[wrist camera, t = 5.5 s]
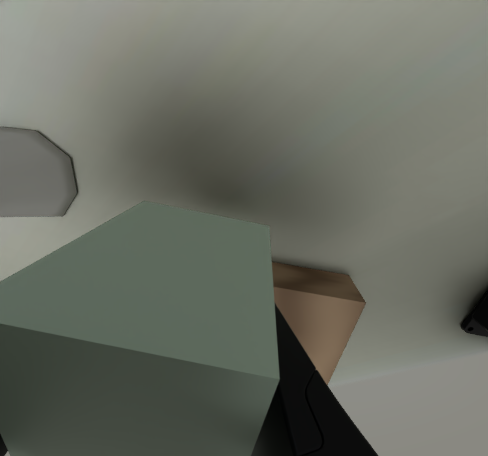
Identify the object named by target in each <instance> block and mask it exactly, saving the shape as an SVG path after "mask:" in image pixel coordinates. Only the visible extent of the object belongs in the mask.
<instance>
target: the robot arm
mask: <svg viewBox="0 0 488 456" xmlns="http://www.w3.org/2000/svg"><path fill="white" fill-rule="evenodd" d="M274 303H275V302H274ZM275 318H276V333H277V347H278V362H279V377H280V380H279V382H278V385H277V388H276V390H275V393H274V396H273V398H272V401H271V404H270V406H269V409H268V412H267V414H266V417H265V419H264V422H263V425H262V427H261V430H260V433H259V435H258V438H257V441H256V443H255V446H254V449H253V451H252V454H251V456H378V455H377V453H376V452H375V451H374V449H373V448H372V447H371V445H370V444H369V443H368V441H367V440H366V439H365V437H364V436H363V435H362V433H361V432H360V431H359V429H358V428H357V427H356V425H355V424H354V423H353V421H352V420H351V419H350V417H349V416H348V414H347V413H346V412H345V410H344V409H343V408H342V406H341V405H340V404H339V402H338V401H337V399H336V398H335V396H334V395H333V393H332V392H331V390H330V389H329V387H328V386H327V384H326V383H325V381H324V379H323V378H322V376H321V375H320V373H319V372H318V370H316V367H315V365H314V364H313V362H312V361H311V359H310V357H309V356H308V354H307V353H306V351H305V350H304V348H303V346H302V345H301V343H300V342H299V340H298V338H297V337H296V335H295V334H294V332H293V331H292V329H291V327H290V326H289V324H288V323H287V321H286V319H285V318H284V316H283V315H282V313H281V312H280V310H279V308H278V307H277V305H276V304H275ZM461 328H462V329H463V330H464V331H465V332H466V333H470V334H475V335H481V336H486V337H488V291H487V292H486V293H485V295H484V296H483V297H482V299H481V300H480V301H479V303H478V304H477V305H476V307H475V308H474V309H473V311H472V312H471V313H470V315H469V316H468V317H467V319H466V320H465V321H464V323H463V324H462V325H461ZM7 451H8V449H7V447H6V445H5V443H4V440H3V438H2V436H1V434H0V456H4V455H5V454H6V453H7Z"/></svg>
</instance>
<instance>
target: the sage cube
mask: <svg viewBox="0 0 488 456" xmlns="http://www.w3.org/2000/svg"><path fill="white" fill-rule="evenodd" d="M279 380H280V377H279V362H278V347H277V333H276V318H275V303H274V288H273V274H272V259H271V244H270V229H269V226H268V225H263V224H258V223H253V222H248V221H243V220H238V219H233V218H228V217H223V216H218V215H213V214H208V213H203V212H198V211H193V210H188V209H183V208H178V207H173V206H168V205H163V204H158V203H153V202H148V201H143V202H141V203H139V204H138V205H136V206H134V207H132V208H131V209H129V210H127V211H125V212H123V213H122V214H120V215H118V216H116V217H114V218H113V219H111V220H109V221H107V222H106V223H104V224H102V225H100V226H98V227H97V228H95V229H93V230H91V231H90V232H88V233H86V234H84V235H82V236H81V237H79V238H77V239H75V240H74V241H72V242H70V243H68V244H66V245H65V246H63V247H61V248H59V249H58V250H56V251H54V252H52V253H50V254H49V255H47V256H45V257H43V258H42V259H40V260H38V261H36V262H34V263H33V264H31V265H29V266H27V267H25V268H24V269H22V270H20V271H18V272H17V273H15V274H13V275H11V276H9V277H8V278H6V279H4V280H2V281H1V282H0V434H1V436H2V438H3V440H4V443H5V445H6V447H7V449H8V451H9V454H10V456H251V454H252V451H253V449H254V446H255V443H256V441H257V438H258V435H259V433H260V430H261V427H262V425H263V422H264V419H265V417H266V414H267V412H268V409H269V406H270V404H271V401H272V398H273V396H274V393H275V390H276V388H277V385H278V382H279Z"/></svg>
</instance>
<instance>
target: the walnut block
mask: <svg viewBox="0 0 488 456" xmlns="http://www.w3.org/2000/svg"><path fill="white" fill-rule="evenodd" d="M272 274H273V288H274V302H275V304H276V305H277V307H278V308H279V310H280V312H281V313H282V315H283V316H284V318H285V319H286V321H287V323H288V324H289V326H290V327H291V329H292V331H293V332H294V334H295V335H296V337H297V338H298V340H299V342H300V343H301V345H302V346H303V348H304V350H305V351H306V353H307V354H308V356H309V357H310V359H311V361H312V362H313V364H314V365H315V367H316V370H318V372H319V373H320V375H321V376H322V378H323V379H324V381H325V383H326V384H327V385H328V383H329V381H330V378H331V376H332V374H333V372H334V370H335V368H336V366H337V364H338V361H339V359H340V357H341V355H342V353H343V351H344V349H345V347H346V344H347V342H348V340H349V338H350V336H351V334H352V332H353V330H354V327H355V325H356V323H357V321H358V319H359V317H360V315H361V313H362V310H363V308H364V306H365V304H366V302H365V300H364V299H363V297H362V296H361V294H360V292H359V291H358V289H357V288H356V286H355V284H354V283H353V281H352V280H351V278H350V276H349V275H345V274H339V273H333V272H327V271H322V270H316V269H310V268H304V267H299V266H293V265H287V264H281V263H275V262H272Z"/></svg>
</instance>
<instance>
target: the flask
mask: <svg viewBox="0 0 488 456" xmlns="http://www.w3.org/2000/svg"><path fill="white" fill-rule="evenodd" d="M76 194H77V190H76V185H75V180H74V175H73V170H72V165H71V160H70V157H69V156H67V155H66V154H65V153H63V152H62V151H61V150H60V149H58V148H57V147H56V146H55V145H53V144H52V143H51V142H50V141H48V140H47V139H46V138H45V137H43V136H42V135H41V134H39V133H38V132H37V131H33V130H24V129H16V128H7V127H0V217H54V216H63V215H64V214H65V212H66V210H67V209H68V207H69V206H70V204H71V202H72V201H73V199H74V197H75V196H76Z"/></svg>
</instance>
